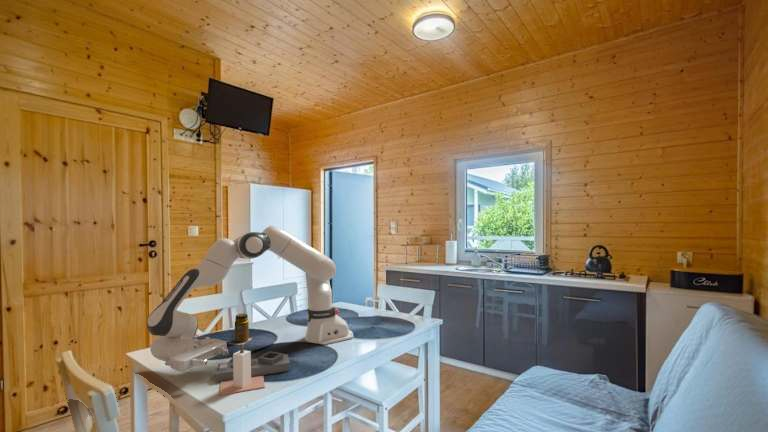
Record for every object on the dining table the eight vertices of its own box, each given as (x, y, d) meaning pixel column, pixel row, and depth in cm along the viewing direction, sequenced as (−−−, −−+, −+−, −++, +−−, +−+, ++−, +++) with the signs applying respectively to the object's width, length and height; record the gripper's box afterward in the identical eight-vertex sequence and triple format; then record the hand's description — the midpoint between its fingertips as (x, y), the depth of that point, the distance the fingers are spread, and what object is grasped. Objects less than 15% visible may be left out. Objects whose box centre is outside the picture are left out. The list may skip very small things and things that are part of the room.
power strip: (287, 361, 145) (287, 348, 145) (289, 370, 136) (289, 357, 136) (218, 371, 136) (218, 358, 136) (216, 382, 127) (216, 368, 127)
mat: (263, 376, 132) (263, 375, 132) (264, 387, 123) (264, 386, 123) (221, 383, 127) (221, 382, 127) (219, 395, 118) (219, 394, 118)
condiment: (252, 338, 172) (252, 313, 171) (242, 345, 163) (242, 318, 163) (238, 338, 173) (238, 312, 173) (227, 344, 164) (227, 317, 164)
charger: (242, 381, 128) (241, 341, 127) (251, 382, 126) (250, 342, 126) (233, 386, 124) (232, 345, 124) (242, 388, 122) (242, 346, 122)
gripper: (161, 354, 124) (191, 359, 119) (210, 335, 143) (237, 339, 138) (161, 372, 124) (191, 379, 119) (210, 351, 143) (237, 356, 138)
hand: (216, 357), depth 129 cm, fingers open, 8 cm apart
